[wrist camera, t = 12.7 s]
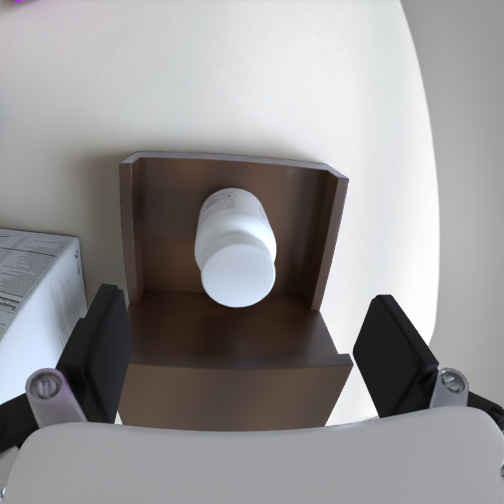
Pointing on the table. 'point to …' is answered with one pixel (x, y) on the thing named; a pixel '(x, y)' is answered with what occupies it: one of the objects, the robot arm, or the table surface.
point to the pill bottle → (235, 248)
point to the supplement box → (36, 303)
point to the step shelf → (221, 316)
